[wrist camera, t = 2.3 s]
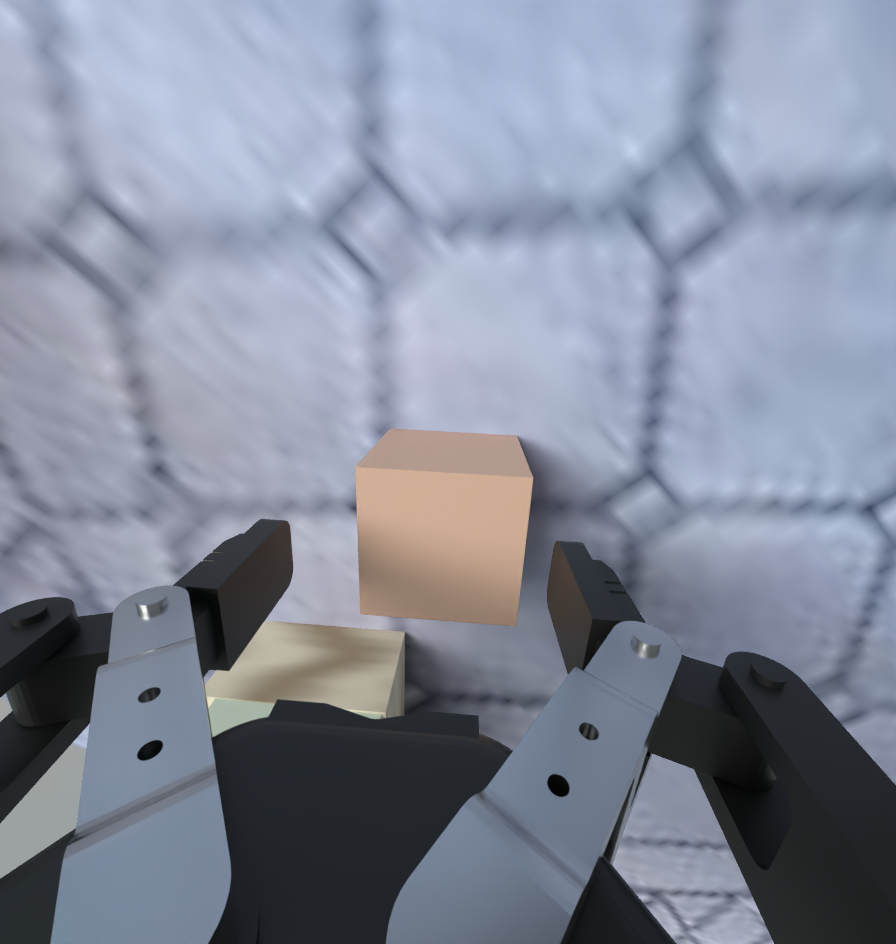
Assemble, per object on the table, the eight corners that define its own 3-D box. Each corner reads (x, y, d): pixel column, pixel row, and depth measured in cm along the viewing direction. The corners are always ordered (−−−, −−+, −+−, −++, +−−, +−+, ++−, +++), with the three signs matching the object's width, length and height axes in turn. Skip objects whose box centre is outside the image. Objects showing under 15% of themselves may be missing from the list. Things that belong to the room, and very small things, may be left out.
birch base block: (405, 629, 22) (385, 712, 17) (404, 741, 24) (387, 840, 19) (257, 617, 22) (196, 695, 17) (272, 728, 25) (223, 822, 20)
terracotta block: (516, 435, 18) (533, 477, 13) (505, 548, 20) (516, 626, 14) (390, 428, 18) (355, 467, 13) (390, 540, 20) (360, 614, 15)
